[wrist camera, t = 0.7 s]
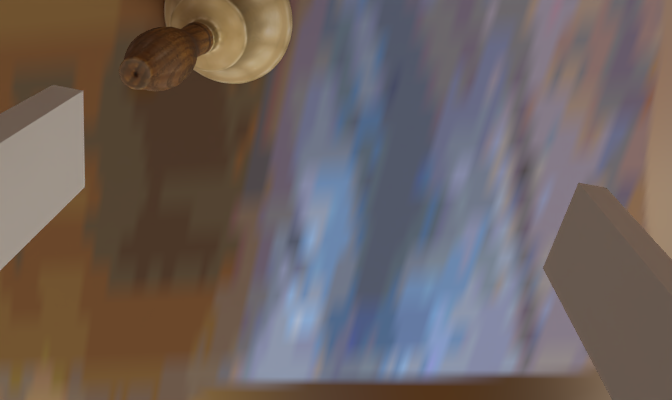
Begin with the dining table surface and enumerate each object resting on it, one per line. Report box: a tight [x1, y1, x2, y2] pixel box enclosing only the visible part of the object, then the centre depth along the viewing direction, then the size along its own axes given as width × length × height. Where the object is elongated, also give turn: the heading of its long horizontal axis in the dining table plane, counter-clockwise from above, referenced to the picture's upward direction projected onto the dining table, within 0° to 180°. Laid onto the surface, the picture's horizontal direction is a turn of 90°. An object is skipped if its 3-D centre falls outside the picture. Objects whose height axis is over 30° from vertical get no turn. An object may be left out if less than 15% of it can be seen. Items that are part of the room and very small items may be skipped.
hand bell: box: [119, 0, 292, 91], centre depth 29 cm, size 8×8×16 cm
